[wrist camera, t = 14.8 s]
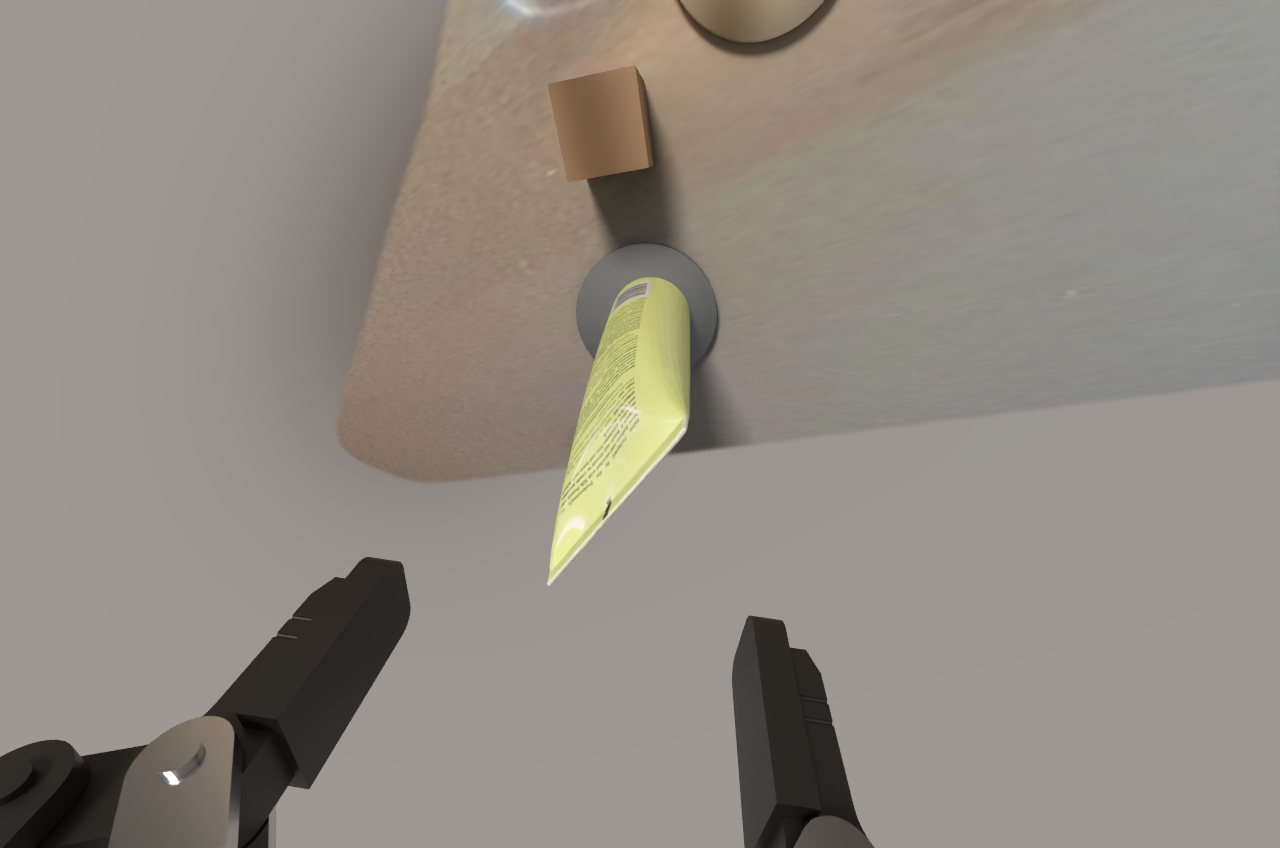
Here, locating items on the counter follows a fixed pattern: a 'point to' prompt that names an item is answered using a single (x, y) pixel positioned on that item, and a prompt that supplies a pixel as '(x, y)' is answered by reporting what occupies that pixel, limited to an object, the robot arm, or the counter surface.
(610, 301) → the pad
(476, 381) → the counter surface
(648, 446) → the tube
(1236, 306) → the counter surface
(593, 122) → the walnut block
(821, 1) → the pad
